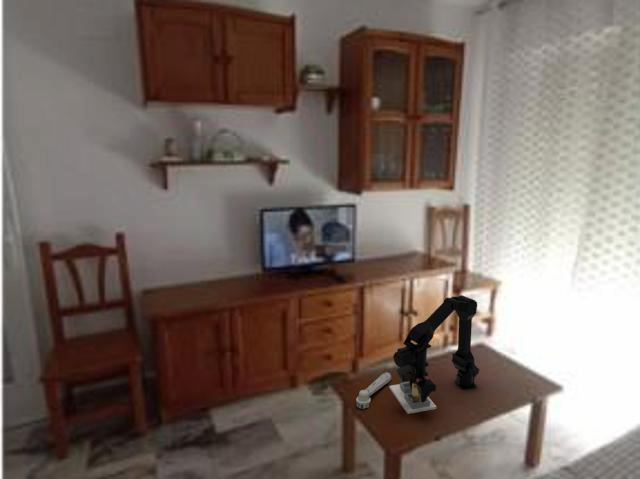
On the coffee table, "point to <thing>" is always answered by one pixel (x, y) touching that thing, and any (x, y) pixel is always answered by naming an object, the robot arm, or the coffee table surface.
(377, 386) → the white handheld shower head
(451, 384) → the coffee table surface
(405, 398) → the white socket board
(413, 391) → the gold metallic cylinder
